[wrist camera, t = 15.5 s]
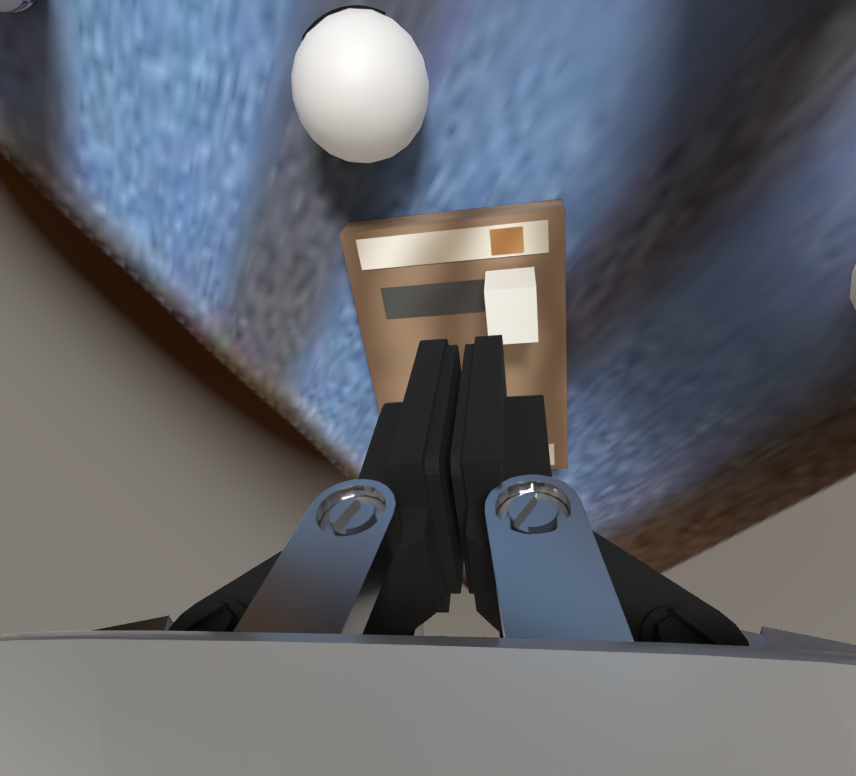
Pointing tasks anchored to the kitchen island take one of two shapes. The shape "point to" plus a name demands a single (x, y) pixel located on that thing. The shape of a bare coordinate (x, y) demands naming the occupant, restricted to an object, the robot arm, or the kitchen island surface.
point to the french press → (853, 287)
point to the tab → (512, 304)
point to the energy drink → (15, 5)
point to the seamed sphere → (359, 84)
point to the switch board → (461, 295)
